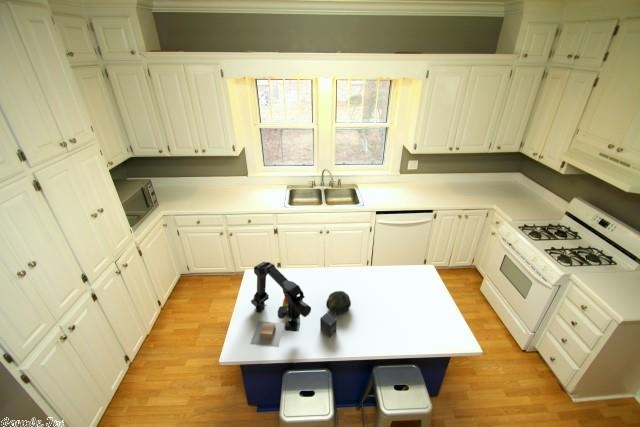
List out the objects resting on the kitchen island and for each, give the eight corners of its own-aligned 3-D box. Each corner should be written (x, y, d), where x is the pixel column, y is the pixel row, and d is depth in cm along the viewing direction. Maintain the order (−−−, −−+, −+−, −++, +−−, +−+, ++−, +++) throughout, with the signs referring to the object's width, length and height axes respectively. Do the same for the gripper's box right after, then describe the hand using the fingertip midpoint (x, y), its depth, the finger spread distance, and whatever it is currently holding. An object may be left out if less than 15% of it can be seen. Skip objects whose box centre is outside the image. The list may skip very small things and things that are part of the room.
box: (336, 332, 170) (337, 319, 165) (330, 338, 167) (330, 325, 162) (326, 324, 175) (326, 312, 170) (320, 330, 171) (320, 317, 166)
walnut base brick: (263, 327, 172) (263, 322, 170) (275, 328, 171) (275, 324, 169) (260, 337, 166) (259, 333, 164) (272, 339, 165) (272, 334, 163)
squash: (320, 296, 187) (329, 293, 174) (340, 289, 194) (350, 286, 181) (328, 319, 184) (337, 317, 171) (348, 311, 190) (358, 309, 177)
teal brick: (291, 323, 164) (290, 315, 161) (300, 324, 164) (299, 316, 161) (289, 330, 160) (288, 323, 157) (298, 331, 160) (298, 323, 157)
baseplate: (258, 321, 177) (258, 320, 176) (285, 324, 175) (284, 323, 175) (250, 345, 163) (250, 343, 162) (278, 348, 161) (278, 346, 161)
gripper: (282, 291, 163) (284, 311, 170) (274, 318, 147) (276, 339, 154) (302, 293, 162) (303, 313, 169) (296, 320, 145) (297, 341, 153)
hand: (294, 326), depth 161 cm, fingers closed on teal brick, 5 cm apart
